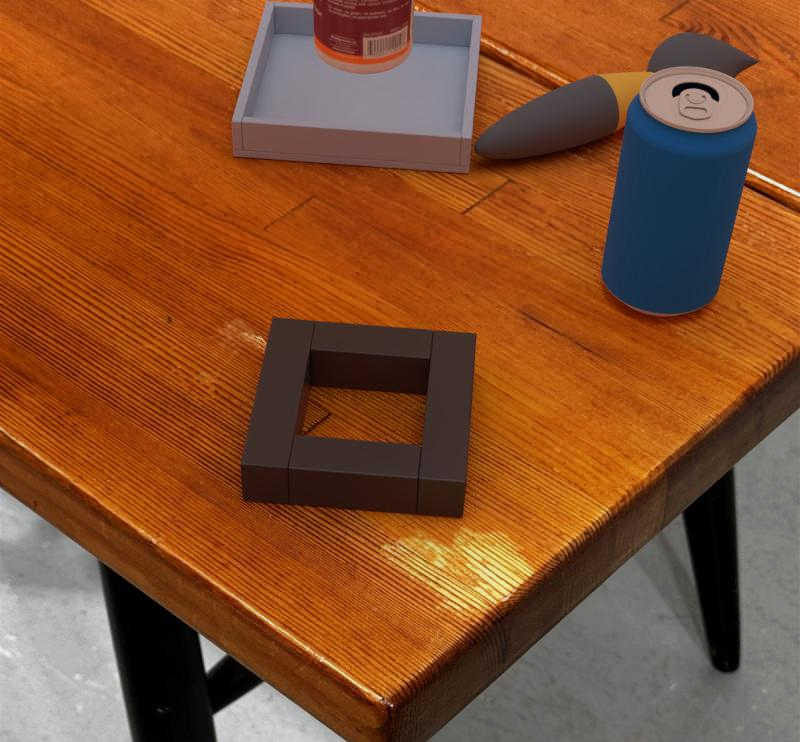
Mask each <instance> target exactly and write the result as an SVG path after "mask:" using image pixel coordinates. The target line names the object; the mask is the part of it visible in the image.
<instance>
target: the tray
mask: <svg viewBox="0 0 800 742" xmlns="http://www.w3.org/2000/svg"><path fill="white" fill-rule="evenodd" d="M260 18H261V19H260V22H259V25H258V28H257V32H256V36H255V39H254V41H253V46H252V49H251V53H250V56H249V60H248V63H247V67H246V70H245V74H244V77H243V81H242V84H241V88H240V91H239V93H238V98H237V101H236V104H235V108H234V112H233V115H232V119H231V135H232V148H233V151H232V152H233V157H236V158H237V157H238V158H247V159H248V158H250V159H265V160H277V161H292V162H303V163H304V162H305V163H319V164H329V165H330V164H332V165H344V166H345V165H347V166H357V167H359V166H360V167H371V168H372V167H373V168H385V169H386V168H387V169H402V170H413V171H428V172H442V173H455V174H466V175H467V174H470V168H471V156H472V145H473V133H474V120H475V108H476V98H477V86H478V77H479V76H478V73H479V64H480V63H479V62H480V52H481V40H482V39H481V38H482V27H483V26H482V25H483V15H479V14H474V15H473V14H465V13H464V14H463V13H451V12H436V11H422V10H421V11H419V10H414V17H413V39H412V49H411V52H410V54H409V56H408V58H407V59H406V60H405V61H404V62H403V63H402V64H400V65H399V66H397V67H395V68H393V69H391V70H388V71H385V72H381V73H374V74H356V73H351V72H346V71H343V70H339V69H337V68H334V67H331V66H330V65H328V64H326V63H325V62H323V61H322V60H321V59H320V58H319V56H318V55H317V53H316V51H315V48H314V16H313V3H306V2H305V3H303V2H291V1H290V2H289V1H278V0H277V1H274V0H273V1H272V0H271V1H270V0H266V2H265V4H264V8H263V12H262V15H261V17H260Z"/></svg>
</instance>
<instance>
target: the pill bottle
mask: <svg viewBox="0 0 800 742" xmlns="http://www.w3.org/2000/svg"><path fill="white" fill-rule="evenodd" d="M312 4H313V16H314V48H315V51H316V53H317V55H318V56H319V58H320V59H321V60H322V61H323V62H325V63H326V64H328V65H330V66H331V67H334V68H337V69H339V70H343V71H346V72H351V73H356V74H374V73H381V72H385V71H388V70H391V69H393V68H395V67H397V66H399V65H400V64H402V63H403V62H404V61H405V60H406V59H407V58H408V56H409V54H410V52H411V49H412V39H413V17H414V11H415V0H312Z"/></svg>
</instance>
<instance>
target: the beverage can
mask: <svg viewBox="0 0 800 742" xmlns="http://www.w3.org/2000/svg"><path fill="white" fill-rule="evenodd" d="M754 106H755V102H754V97H753V95H752V93H751V92H750V90H749V89H748V88H747V87H746V85H744V84H743V83H742V82H741V81H739V80H738V79H736V78H732V77H731V76H728V75H726V74H724V73H721V72H718V71H715V70H711V69H706V68H700V67H673V68H668V69H664V70H661V71H658V72H656V73H654V74H652V75H650V76H649V77H648V78H646V79H645V80H644V82H643V83H642V85H641V87H640V92H639V93H638V94H637V95H636V96H635V97H634V99H633V100H632V101H631V103H630V105H629V107H628V110H627V116H626V122H625V126H624V127H623V128H624V129H623V135H622V141H621V146H620V153H619V159H618V165H617V171H616V176H615V177H616V178H615V183H614V189H613V193H612V194H613V195H612V201H611V206H610V207H611V208H610V213H609V217H608V218H609V219H608V225H607V231H606V239H605V243H604V249H603V255H602V261H601V267H600V275H601V279H602V282H603V284H604V286H605V288H606V289H607V290H608V291H609V293H610V294H611V295H612V296H614V297H615V298H616V299H617V300H619V301H620V302H622V303H623V304H625V306H628V307H629V308H630V309H632V310H633V311H636V312H638V313H640V314H641V313H642V314H644V315H648V316H654V317H661V318H664V317H666V318H667V317H668V318H669V317H677V316H681V315H684V314H689V313H692V312H695V311H698V310H701V309H703V308H704V307H706V306H708V304H710V303H711V302H712V301H713V300H714V299H715V297H717V294H718V292H719V290H720V285H721V282H722V277H723V273H724V271H725V270H724V269H725V266H726V261H727V257H728V253H729V249H730V244H731V240H732V237H733V232H734V229H735V224H736V220H737V215H738V213H739V212H738V211H739V208H740V203H741V199H742V195H743V190H744V188H745V183H746V178H747V175H748V172H749V171H748V170H749V166H750V162H751V159H752V154H753V150H754V145H755V141H756V138H757V134H758V120H757V117H756V114H755V112H754Z"/></svg>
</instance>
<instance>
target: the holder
mask: <svg viewBox="0 0 800 742" xmlns="http://www.w3.org/2000/svg"><path fill="white" fill-rule="evenodd" d="M477 336H478V335H477V333H475V332H463V331H451V330H439V329H435V330H433V329H426V328H414V327H400V326H386V325H376V324H375V325H374V324H362V323H349V322H336V321H323V320H312V319H299V318H287V317H275V316H273V317H272V318H271V322H270V327H269V332H268V336H267V340H266V345H265V348H264V349H265V350H264V354H263V359H262V363H261V368H260V373H259V377H258V382H257V386H256V391H255V394H254V400H253V404H252V409H251V413H250V417H249V422H248V427H247V432H246V435H245V439H244V445H243V450H242V453H241V454H242V455H241V458H240V463H239V466H240V467H239V468H240V479H241V480H240V481H241V492H242V500H243V501H248V502H257V503H258V502H259V503H272V504H283V505H289V504H290V505H298V506H299V505H301V506H311V507H313V506H314V507H325V508H336V509H337V508H338V509H347V510H362V511H373V512H385V513H396V514H397V513H399V514H409V515H410V514H411V515H416V514H417V515H423V516H424V515H425V516H435V517H449V518H460V519H462V518H463V517H464V512H465V504H466V503H465V501H466V490H467V478H468V465H469V451H470V435H471V422H472V421H471V420H472V407H473V396H474V395H473V394H474V393H473V392H474V382H475V381H474V379H475V365H476V351H477V349H476V348H477ZM311 386H316V387H317V386H319V387H329V388H330V387H332V388H341V389H342V388H343V389H355V390H369V391H382V392H395V393H406V394H407V393H408V394H420V395H426V399H425V407H424V408H425V409H424V419H423V428H422V429H423V430H422V431H423V432H422V439H421V444H415V443H400V442H389V441H377V440H365V439H363V440H362V439H350V438H341V437H340V438H339V437H326V436H325V437H324V436H314V435H303V430H304V426H305V425H304V424H305V420H306V413H307V408H308V403H309V397H310V392H311V391H310V390H311Z"/></svg>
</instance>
